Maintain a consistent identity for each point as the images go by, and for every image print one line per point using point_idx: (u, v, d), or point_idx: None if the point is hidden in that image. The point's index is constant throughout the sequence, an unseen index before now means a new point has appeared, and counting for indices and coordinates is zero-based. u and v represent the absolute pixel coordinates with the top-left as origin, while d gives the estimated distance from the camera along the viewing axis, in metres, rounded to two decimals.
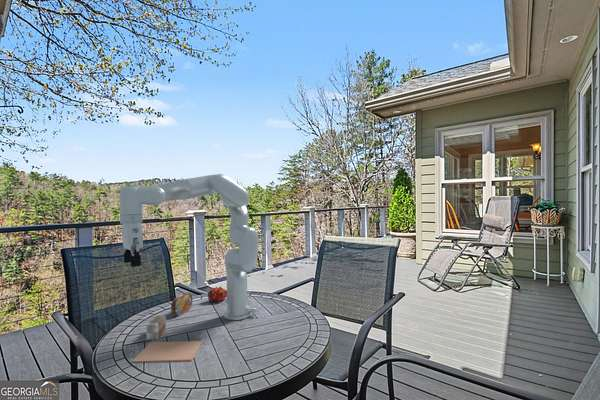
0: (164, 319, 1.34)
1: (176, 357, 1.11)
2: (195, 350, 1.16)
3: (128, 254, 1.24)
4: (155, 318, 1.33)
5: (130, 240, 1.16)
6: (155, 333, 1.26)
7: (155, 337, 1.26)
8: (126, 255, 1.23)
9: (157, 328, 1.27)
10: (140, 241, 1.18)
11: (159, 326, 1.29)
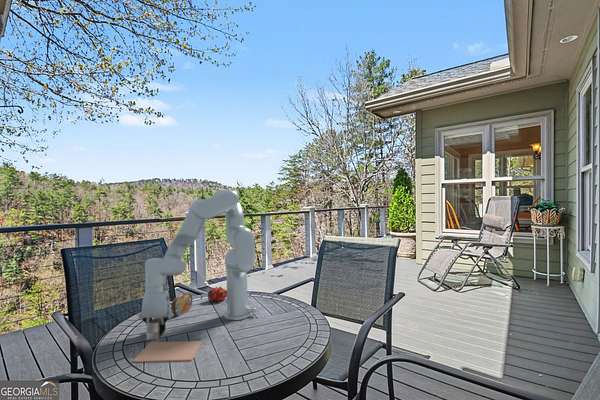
0: None
1: (176, 357, 1.11)
2: (195, 350, 1.16)
3: None
4: (155, 318, 1.33)
5: (166, 308, 1.29)
6: (155, 333, 1.26)
7: (155, 337, 1.26)
8: None
9: (157, 328, 1.27)
10: None
11: (159, 326, 1.29)
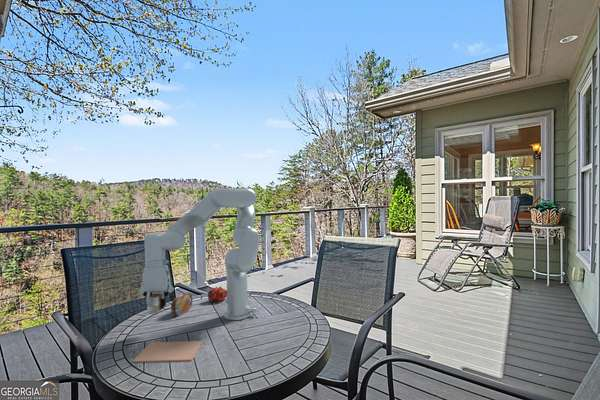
0: None
1: (176, 357, 1.11)
2: (195, 350, 1.16)
3: None
4: (155, 293, 1.33)
5: (166, 282, 1.29)
6: (156, 307, 1.26)
7: (156, 311, 1.27)
8: None
9: (158, 301, 1.28)
10: (170, 281, 1.33)
11: (159, 300, 1.29)
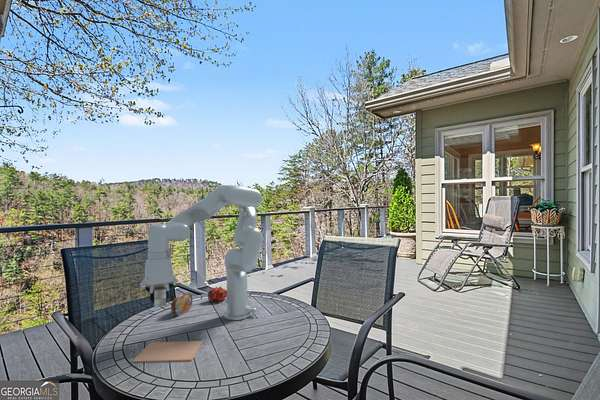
0: None
1: (176, 357, 1.11)
2: (195, 350, 1.16)
3: None
4: (156, 287, 1.27)
5: (172, 273, 1.27)
6: (164, 299, 1.23)
7: (164, 303, 1.23)
8: None
9: (165, 294, 1.24)
10: None
11: None
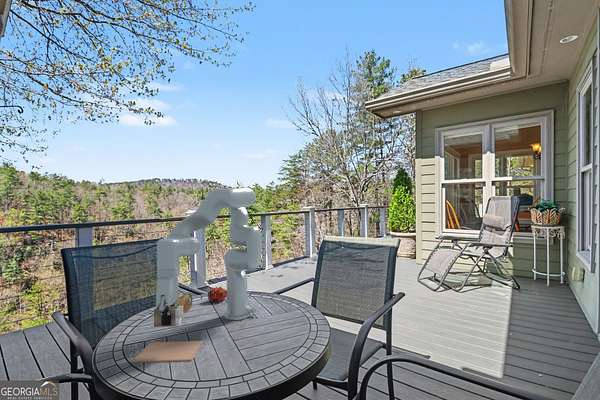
0: None
1: (176, 357, 1.11)
2: (195, 350, 1.16)
3: None
4: None
5: None
6: (182, 315, 1.18)
7: (182, 320, 1.18)
8: None
9: None
10: None
11: None
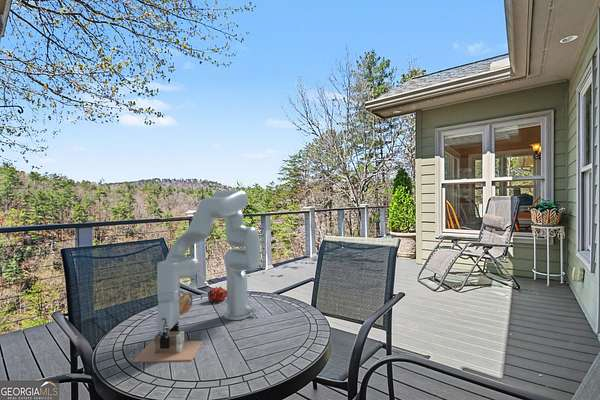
0: None
1: (176, 357, 1.11)
2: (195, 350, 1.16)
3: None
4: None
5: None
6: (183, 341, 1.18)
7: (183, 345, 1.18)
8: None
9: None
10: None
11: None
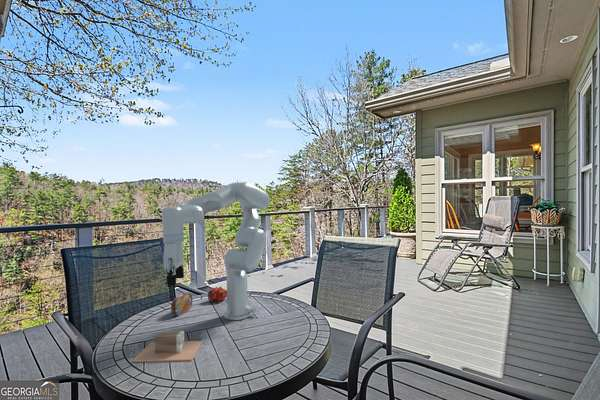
0: None
1: (176, 357, 1.11)
2: (195, 350, 1.16)
3: None
4: (163, 335, 1.15)
5: None
6: (183, 341, 1.18)
7: (183, 345, 1.18)
8: None
9: None
10: None
11: None
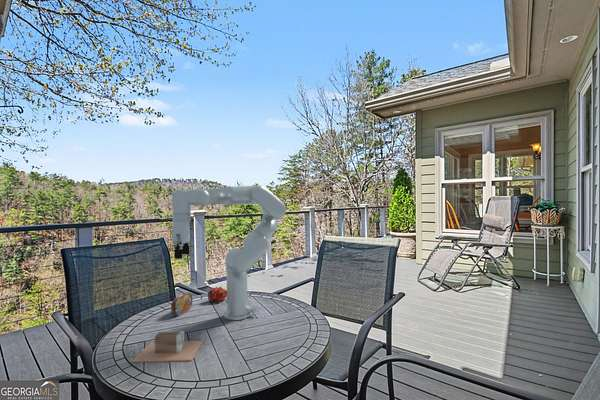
0: None
1: (176, 357, 1.11)
2: (195, 350, 1.16)
3: None
4: (163, 335, 1.15)
5: None
6: (183, 341, 1.18)
7: (183, 345, 1.18)
8: None
9: None
10: None
11: None
